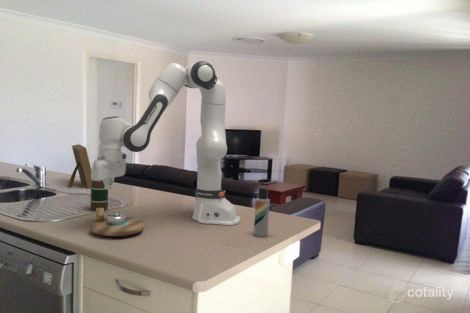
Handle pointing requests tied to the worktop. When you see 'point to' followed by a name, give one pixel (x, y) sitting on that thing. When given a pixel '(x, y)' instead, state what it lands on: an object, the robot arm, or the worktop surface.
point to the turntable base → (117, 236)
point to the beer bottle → (98, 195)
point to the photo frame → (81, 166)
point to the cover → (115, 219)
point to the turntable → (104, 229)
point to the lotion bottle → (261, 213)
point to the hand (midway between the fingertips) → (108, 188)
